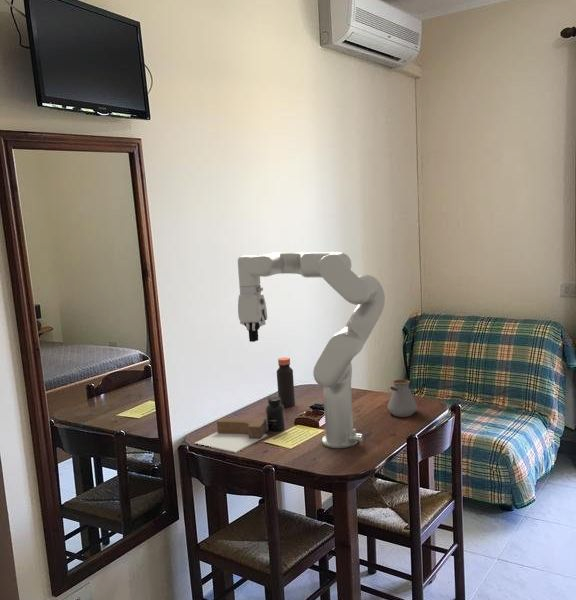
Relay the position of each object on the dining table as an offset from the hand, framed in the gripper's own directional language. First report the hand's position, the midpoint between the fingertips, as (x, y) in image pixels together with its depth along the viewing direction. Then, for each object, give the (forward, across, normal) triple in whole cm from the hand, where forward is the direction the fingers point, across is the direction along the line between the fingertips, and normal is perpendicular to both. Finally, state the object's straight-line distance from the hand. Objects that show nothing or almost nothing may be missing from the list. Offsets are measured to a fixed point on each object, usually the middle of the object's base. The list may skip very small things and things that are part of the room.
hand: (253, 340), depth 219 cm
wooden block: (+32, -2, 0) cm, 32 cm away
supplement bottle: (+35, -2, -7) cm, 36 cm away
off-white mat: (+35, +6, +9) cm, 37 cm away
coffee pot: (+35, -38, -37) cm, 64 cm away
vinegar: (+35, +11, -33) cm, 50 cm away
